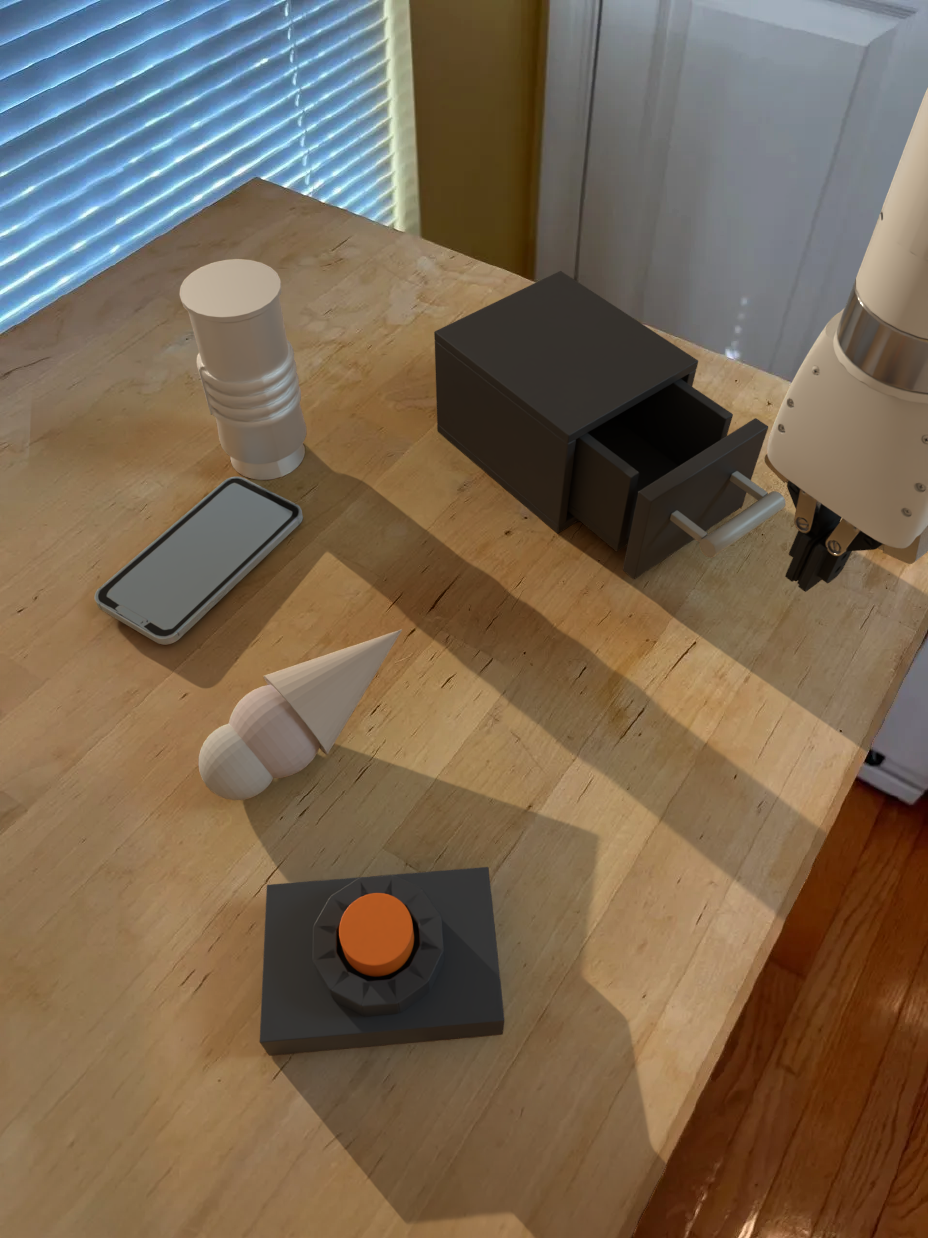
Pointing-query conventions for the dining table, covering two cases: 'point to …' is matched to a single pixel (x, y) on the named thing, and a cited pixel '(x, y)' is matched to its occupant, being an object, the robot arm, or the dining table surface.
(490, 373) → the cabinet
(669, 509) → the drawer
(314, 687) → the ice cream cone
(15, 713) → the dining table surface
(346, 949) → the button
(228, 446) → the beige ribbed canister
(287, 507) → the smartphone
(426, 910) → the control block
